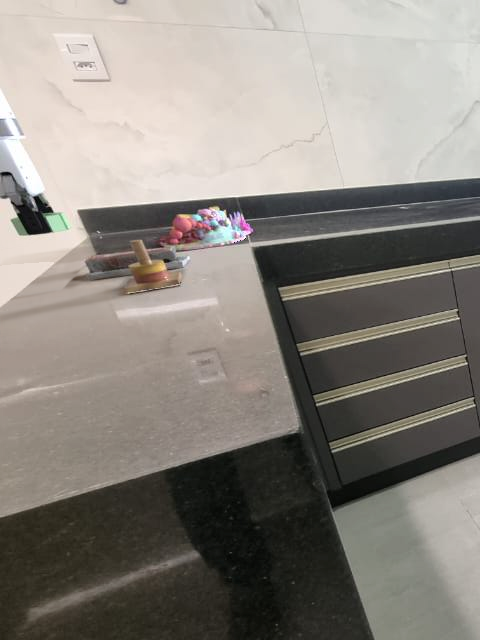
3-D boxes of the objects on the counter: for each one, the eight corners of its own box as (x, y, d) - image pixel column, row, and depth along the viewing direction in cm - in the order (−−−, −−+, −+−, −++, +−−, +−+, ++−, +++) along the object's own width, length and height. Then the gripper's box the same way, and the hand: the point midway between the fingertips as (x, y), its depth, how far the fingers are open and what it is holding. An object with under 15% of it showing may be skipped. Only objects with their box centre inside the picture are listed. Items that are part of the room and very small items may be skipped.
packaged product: (77, 261, 120) (91, 252, 128) (88, 281, 122) (101, 272, 130) (176, 248, 128) (183, 241, 136) (185, 267, 130) (191, 259, 138)
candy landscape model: (147, 244, 158) (133, 213, 154) (236, 229, 175) (225, 200, 171) (177, 253, 145) (163, 219, 141) (270, 236, 162) (259, 205, 158)
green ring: (15, 237, 98) (6, 221, 97) (25, 231, 103) (17, 216, 102) (66, 231, 102) (58, 215, 101) (73, 226, 107) (66, 211, 106)
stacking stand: (126, 295, 111) (103, 247, 106) (132, 285, 117) (110, 240, 113) (180, 286, 115) (160, 240, 111) (182, 277, 122) (164, 233, 118)
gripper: (-22, 132, 99) (30, 227, 107) (-58, 133, 86) (4, 241, 94) (33, 129, 103) (80, 221, 111) (7, 130, 90) (61, 234, 98)
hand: (45, 230), depth 103 cm, fingers closed on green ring, 7 cm apart
